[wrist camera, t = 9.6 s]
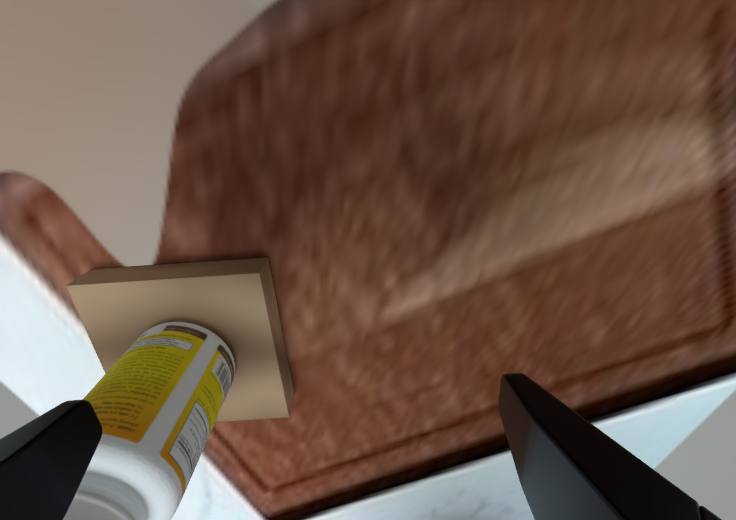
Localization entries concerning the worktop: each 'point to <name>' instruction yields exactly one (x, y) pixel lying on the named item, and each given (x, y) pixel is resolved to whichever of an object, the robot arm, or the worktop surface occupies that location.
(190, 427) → the supplement bottle
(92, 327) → the beige square slab
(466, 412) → the worktop surface
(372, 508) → the worktop surface
